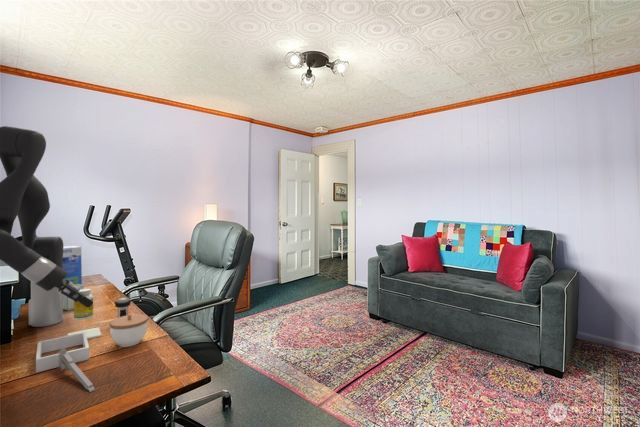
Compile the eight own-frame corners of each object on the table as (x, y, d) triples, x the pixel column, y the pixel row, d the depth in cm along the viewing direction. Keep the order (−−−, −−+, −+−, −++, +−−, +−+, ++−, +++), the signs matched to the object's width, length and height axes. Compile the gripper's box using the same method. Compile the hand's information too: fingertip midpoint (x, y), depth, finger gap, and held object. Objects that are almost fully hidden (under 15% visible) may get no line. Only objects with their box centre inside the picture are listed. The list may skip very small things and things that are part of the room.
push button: (110, 329, 114) (110, 302, 114) (110, 325, 118) (110, 298, 118) (131, 325, 118) (131, 299, 117) (130, 321, 122) (130, 296, 122)
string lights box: (74, 297, 153) (73, 245, 153) (82, 299, 150) (82, 246, 149) (40, 305, 141) (40, 248, 141) (49, 307, 138) (48, 249, 137)
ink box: (68, 311, 134) (67, 280, 133) (61, 310, 135) (61, 279, 135) (84, 306, 140) (84, 276, 140) (78, 305, 141) (78, 276, 141)
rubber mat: (68, 343, 102) (68, 342, 102) (67, 334, 109) (67, 333, 109) (101, 336, 108) (101, 334, 108) (98, 328, 115) (98, 327, 115)
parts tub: (36, 372, 84) (35, 359, 84) (38, 353, 95) (38, 341, 95) (89, 359, 92) (89, 347, 92) (85, 342, 103) (85, 332, 103)
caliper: (58, 369, 87) (58, 346, 87) (63, 367, 88) (62, 345, 87) (90, 393, 76) (89, 367, 75) (95, 391, 76) (95, 365, 76)
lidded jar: (108, 341, 104) (107, 313, 103) (144, 333, 110) (144, 307, 110) (112, 353, 95) (112, 323, 95) (151, 344, 102) (151, 315, 102)
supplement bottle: (76, 316, 109) (76, 289, 109) (94, 314, 112) (94, 287, 112) (72, 321, 104) (72, 292, 104) (91, 318, 107) (91, 290, 107)
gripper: (55, 267, 98) (102, 298, 106) (55, 261, 109) (97, 290, 116) (32, 286, 94) (82, 317, 102) (34, 279, 105) (79, 307, 113)
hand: (90, 303), depth 109 cm, fingers closed on supplement bottle, 5 cm apart
